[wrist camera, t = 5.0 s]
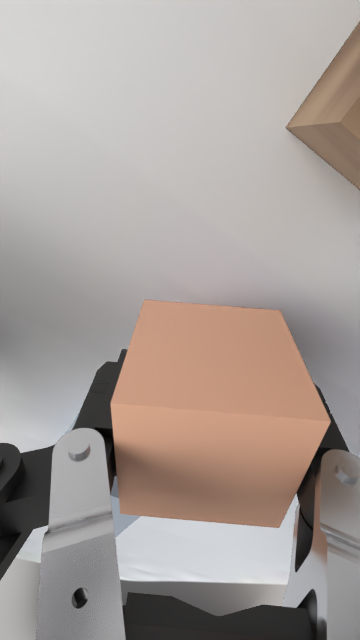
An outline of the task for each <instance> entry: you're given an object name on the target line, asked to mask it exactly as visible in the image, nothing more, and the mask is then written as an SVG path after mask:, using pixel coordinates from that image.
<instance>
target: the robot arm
mask: <svg viewBox="0 0 360 640" xmlns="http://www.w3.org/2000/svg"><path fill="white" fill-rule="evenodd" d="M127 351H128V350H127V349H122V351H121V354H120V357H119V359H118V362H106V363H105V364H104V365H103V366H102V367H101V368H100V369H99V370H97V373H96V375H95V378H94V380H93V383H92V385H91V387H90V389H89V393H88V394H87V396H86V399H85V401H84V403H83V406H82V408H81V410H80V413H79V415H78V418H77V420H76V422H75V425H74V427H73V429H72V430H71V431H70V432H68V433H66V434H65V435H63V436H62V437H61V438H60V439H59V440H58V442H57V443H56V444H55V445H53V446H50V447H47V448H43V449H39V450H34V451H29V452H24V453H20V451H19V450H18V448H17V447H15V446H14V445H12V444H8V443H0V580H1V578H2V577H3V575H4V574H5V572H6V571H7V569H8V568H9V566H10V565H11V563H12V561H13V560H14V558H15V557H16V555H17V554H18V552H19V551H20V549H21V548H22V546H23V544H24V543H25V541H26V540H27V538H28V537H29V535H30V534H31V532H32V531H33V529H36V528H39V527H43V526H47V525H49V526H48V531H47V532H46V533H45V534H44V538H43V543H42V553H41V568H40V569H41V570H40V583H39V584H40V585H39V598H38V615H37V629H36V640H360V458H358V457H357V456H356V455H354V454H352V453H350V452H349V450H348V448H347V446H346V444H345V441H344V439H343V437H342V435H341V433H340V431H339V429H338V427H337V424H336V422H335V420H334V418H333V416H332V414H331V413H330V410H329V407H328V405H327V403H325V399H324V397H323V395H322V393H321V390H320V389H319V388H318V387H317V386H316V385H315V384H314V385H315V388H316V390H317V392H318V394H319V396H320V398H321V401H322V403H323V405H324V407H325V409H326V412H327V414H328V416H329V418H330V420H331V422H330V425H329V427H328V429H327V431H326V433H325V435H324V437H323V439H322V441H321V443H320V445H319V447H318V449H317V451H316V453H315V455H314V457H313V459H312V461H311V463H310V466H309V468H308V470H307V472H306V474H305V476H304V478H303V480H302V482H301V484H300V486H299V488H298V490H297V492H296V493H297V497H298V501H299V503H298V505H297V508H296V512H295V523H294V534H293V545H292V555H291V566H290V575H289V580H288V584H287V588H286V591H285V595H284V601H283V606H282V607H281V606H271V605H260V606H256V607H253V608H249V609H245V610H242V611H238V612H234V613H231V614H227V615H224V616H214V615H212V614H210V613H207V612H205V611H203V610H201V609H199V608H196V607H194V606H192V605H190V604H187V603H185V602H183V601H181V600H179V599H176V598H174V597H172V596H161V595H151V594H140V593H130V592H128V596H127V602H126V605H122V596H121V587H120V578H119V569H118V560H117V551H116V542H115V532H114V523H113V514H112V505H111V496H110V494H111V491H112V487H113V482H114V478H115V476H117V471H116V460H115V448H114V437H113V426H112V415H111V400H112V397H113V394H114V391H115V388H116V385H117V382H118V379H119V375H120V372H121V369H122V366H123V363H124V360H125V357H126V354H127Z"/></svg>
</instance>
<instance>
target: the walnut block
mask: <svg viewBox="0 0 360 640" xmlns="http://www.w3.org/2000/svg"><path fill="white" fill-rule="evenodd" d="M286 128H287V129H288V130H289V131H290V132H291V133H293V134H294V135H295V136H296V137H297V138H298V139H300V140H301V141H302V142H303V143H304V144H306V145H307V146H308V147H309V148H310V149H312V150H313V151H314V152H315V153H316V154H318V155H319V156H320V157H321V158H322V159H323V160H325V161H326V162H327V163H328V164H329V165H331V166H332V167H333V168H334V169H335V170H337V171H338V172H339V173H340V174H341V175H343V176H344V177H345V178H346V179H347V180H348V181H350V182H351V183H352V184H353V185H354V186H356V187H357V188H358V189H359V190H360V22H359V23H358V25H357V26H356V28H355V29H354V30H353V32H352V33H351V35H350V36H349V38H348V39H347V40H346V42H345V43H344V45H343V46H342V48H341V49H340V50H339V52H338V53H337V55H336V56H335V58H334V59H333V60H332V62H331V63H330V65H329V66H328V68H327V69H326V70H325V72H324V73H323V75H322V76H321V78H320V79H319V80H318V82H317V83H316V85H315V86H314V88H313V89H312V91H311V92H310V93H309V95H308V96H307V98H306V99H305V101H304V102H303V103H302V105H301V106H300V108H299V109H298V111H297V112H296V113H295V115H294V116H293V118H292V119H291V121H290V122H289V123H288V125H287V126H286Z"/></svg>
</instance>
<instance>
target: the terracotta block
mask: <svg viewBox="0 0 360 640" xmlns="http://www.w3.org/2000/svg"><path fill="white" fill-rule="evenodd" d="M111 415H112V426H113V437H114V448H115V460H116V471H117V482H118V494H119V505H120V514H126V515H137V516H149V517H160V518H171V519H183V520H194V521H205V522H217V523H228V524H240V525H251V526H262V527H274V528H279V527H280V525H281V523H282V521H283V519H284V517H285V515H286V513H287V511H288V509H289V506H290V504H291V502H292V500H293V498H294V496H295V494H296V492H297V490H298V488H299V486H300V484H301V482H302V480H303V478H304V476H305V474H306V472H307V470H308V468H309V466H310V463H311V461H312V459H313V457H314V455H315V453H316V451H317V449H318V447H319V445H320V443H321V441H322V439H323V437H324V435H325V433H326V431H327V429H328V427H329V425H330V422H331V420H330V418H329V416H328V414H327V412H326V409H325V407H324V405H323V403H322V401H321V398H320V396H319V394H318V392H317V390H316V388H315V385H314V383H313V381H312V379H311V377H310V374H309V372H308V370H307V368H306V366H305V363H304V361H303V359H302V357H301V355H300V352H299V350H298V348H297V346H296V344H295V342H294V339H293V337H292V335H291V333H290V331H289V328H288V326H287V324H286V322H285V320H284V317H283V315H282V313H281V311H280V310H270V309H257V308H244V307H231V306H219V305H206V304H193V303H181V302H168V301H155V300H144V302H143V305H142V308H141V311H140V314H139V317H138V320H137V323H136V326H135V329H134V332H133V336H132V339H131V342H130V345H129V348H128V351H127V354H126V357H125V360H124V363H123V366H122V369H121V372H120V375H119V379H118V382H117V385H116V388H115V391H114V394H113V397H112V400H111Z"/></svg>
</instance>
